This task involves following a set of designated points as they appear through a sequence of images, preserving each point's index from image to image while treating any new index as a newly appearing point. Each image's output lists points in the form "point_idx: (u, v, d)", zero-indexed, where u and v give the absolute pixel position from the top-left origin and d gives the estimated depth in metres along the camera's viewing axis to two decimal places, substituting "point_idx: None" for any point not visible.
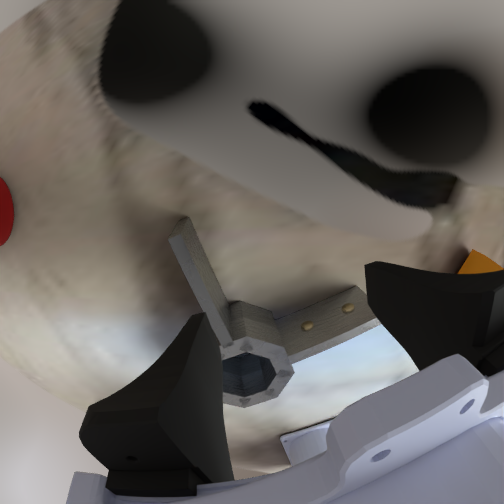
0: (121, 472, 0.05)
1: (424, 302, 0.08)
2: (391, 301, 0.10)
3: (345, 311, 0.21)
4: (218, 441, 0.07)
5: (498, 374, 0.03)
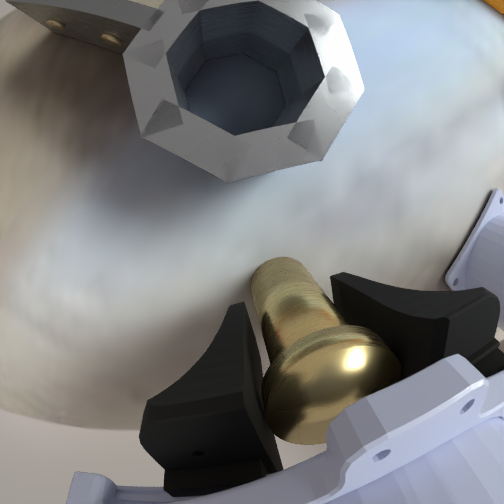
0: (180, 471, 0.05)
1: (382, 320, 0.08)
2: (354, 315, 0.10)
3: None
4: (270, 430, 0.07)
5: (498, 374, 0.03)
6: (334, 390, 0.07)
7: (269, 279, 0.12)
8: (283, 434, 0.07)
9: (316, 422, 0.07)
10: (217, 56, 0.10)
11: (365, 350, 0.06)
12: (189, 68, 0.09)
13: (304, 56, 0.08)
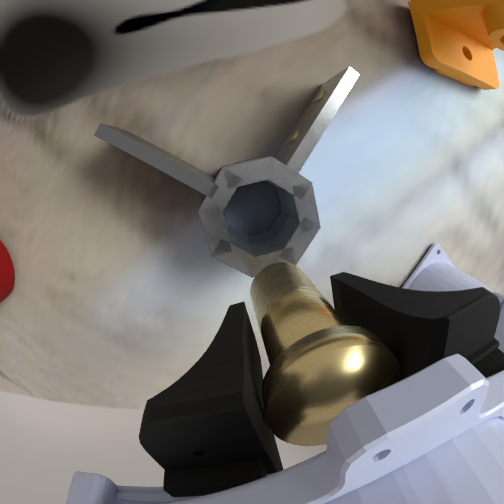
0: (180, 471, 0.05)
1: (382, 320, 0.08)
2: (354, 315, 0.10)
3: (320, 99, 0.17)
4: (270, 430, 0.07)
5: (498, 374, 0.03)
6: (333, 390, 0.07)
7: (268, 284, 0.12)
8: (284, 435, 0.07)
9: (316, 423, 0.07)
10: None
11: (364, 349, 0.06)
12: None
13: (291, 203, 0.17)
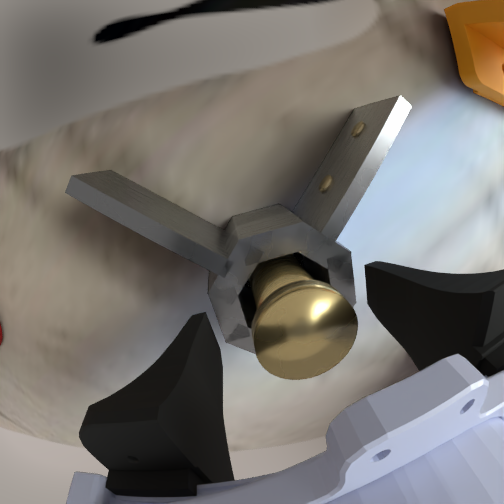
0: (121, 472, 0.05)
1: (424, 302, 0.08)
2: (391, 301, 0.10)
3: (358, 134, 0.13)
4: (218, 441, 0.07)
5: (498, 374, 0.03)
6: (303, 327, 0.10)
7: None
8: (268, 365, 0.10)
9: (293, 356, 0.10)
10: None
11: (323, 294, 0.10)
12: None
13: (322, 273, 0.14)
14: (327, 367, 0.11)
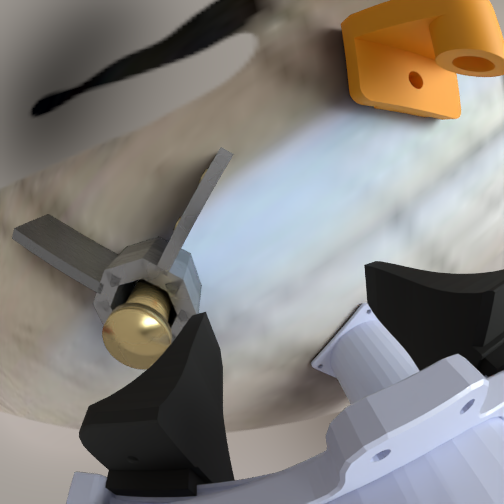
0: (121, 472, 0.05)
1: (424, 302, 0.08)
2: (391, 301, 0.10)
3: None
4: (218, 441, 0.07)
5: (498, 374, 0.03)
6: (128, 333, 0.14)
7: None
8: (115, 356, 0.15)
9: (129, 352, 0.15)
10: None
11: (135, 314, 0.14)
12: None
13: None
14: None
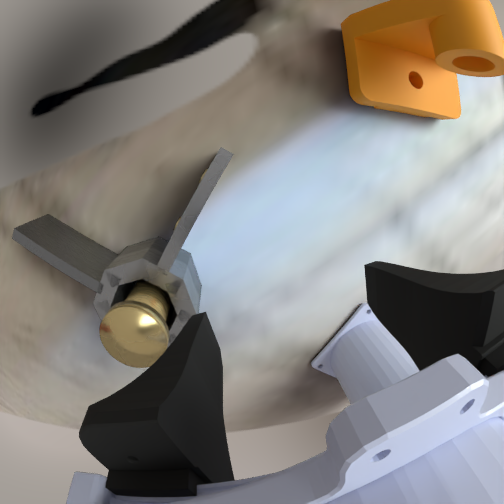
0: (121, 472, 0.05)
1: (424, 302, 0.08)
2: (391, 301, 0.10)
3: None
4: (218, 441, 0.07)
5: (498, 374, 0.03)
6: (125, 331, 0.14)
7: None
8: (113, 354, 0.15)
9: (126, 350, 0.15)
10: None
11: (132, 311, 0.14)
12: None
13: None
14: (153, 362, 0.15)
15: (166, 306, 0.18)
